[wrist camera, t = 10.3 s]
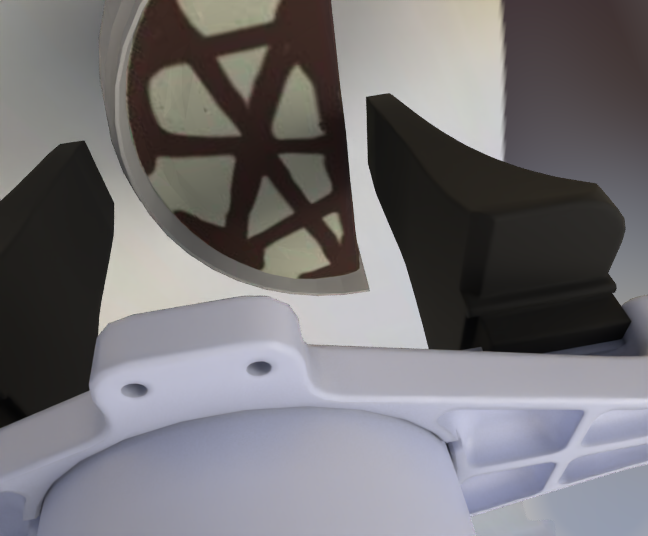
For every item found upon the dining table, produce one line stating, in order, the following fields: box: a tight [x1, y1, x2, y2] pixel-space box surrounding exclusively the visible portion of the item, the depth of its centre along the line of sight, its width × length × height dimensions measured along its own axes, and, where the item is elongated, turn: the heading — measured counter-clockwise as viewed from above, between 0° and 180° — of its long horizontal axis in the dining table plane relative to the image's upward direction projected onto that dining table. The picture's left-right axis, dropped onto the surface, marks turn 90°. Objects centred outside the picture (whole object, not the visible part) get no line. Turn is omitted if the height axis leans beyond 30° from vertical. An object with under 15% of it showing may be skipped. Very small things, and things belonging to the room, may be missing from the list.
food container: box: [99, 0, 370, 296], centre depth 17 cm, size 12×6×10 cm, turn 7°
